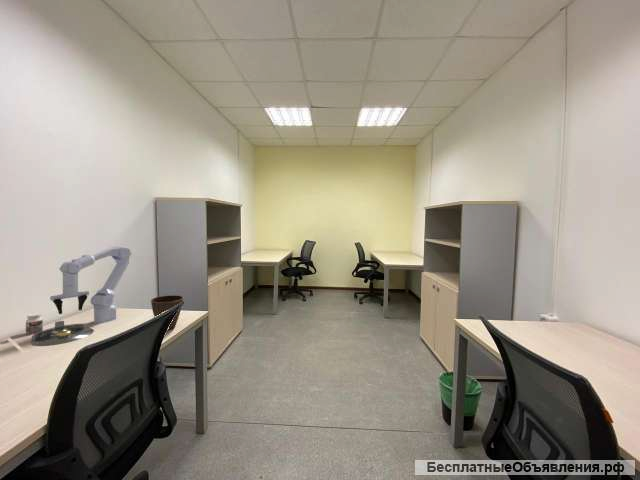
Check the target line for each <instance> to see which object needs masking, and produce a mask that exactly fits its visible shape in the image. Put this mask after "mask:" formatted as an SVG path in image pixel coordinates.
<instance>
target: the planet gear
mask: <svg viewBox="0 0 640 480" xmlns="http://www.w3.org/2000/svg"><path fill="white" fill-rule="evenodd" d="M64 325H65V321H64V320H59V321H55V322H54V327H55V330H53V331H52V335H57V332H60V331H64V330H67V328H64Z"/></svg>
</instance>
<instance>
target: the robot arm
mask: <svg viewBox="0 0 640 480" xmlns="http://www.w3.org/2000/svg"><path fill="white" fill-rule="evenodd" d="M131 256H132V252H131V249H130V248H129V247H128V246H117V245H116V246H114V245H113V246H111V247H108V248H106V249H104V250H101V251H99V252H96V253H95V254H91V255H90V254H82V255H81V256H79V257H78V258H72V259H71V260H70V261H64V262H63V263H62V264H61V265H60V267H59V271H60V272H61V274H62V294H57V295H51V296H49V299H50V300H49V301H52V302H53V304H54V305H55V307H56V309H57V313H58V315H62V314H63V300H64V299H72V298H77V299H78V300H77V301H78V304H77V305H78V311H82V310H83V307H84V304H85V302H86V300H87V298H88V296H90V291H88V290H87V291H86V290H85V291H79V273H80V271H81V270H82V269H86V268H88V267H90V266H92V265H94V264H95V263H96V261H99V260H102V259H105V258H107V257H112V259H113V260H114V262H116V264H115V266H114V268H113V269H112V271H111V273H110V274H109V276H108V277H107V279H106V281H105V283H104V285H103V286H102V288H101V289H99V290H97V291H96V293H95V294H93V296H91V298H90V304H91V305H93V324H94V323H95V324H103V323H107V322H110V321H114V320H117V308H116V306H115V304H113V303H114V299H115V296H116V295H115V292H114V291H115V289H116V287H117V286H118V284H119V282H120V281H121V279H122V276H123V275H124V273H125V271H126V269H127V267H128V266H129V264H130V257H131Z"/></svg>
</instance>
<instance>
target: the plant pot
mask: <svg viewBox="0 0 640 480" xmlns="http://www.w3.org/2000/svg"><path fill="white" fill-rule="evenodd" d="M183 300H184V297H183V296H181V295H178V294H177V295H176V294H175V295H173V294H172V295H163V296H157V297H153V298H152V299H150V303H151V309H152V314H153V317H154V318H155V316H157V315H159V314H161V313H162V312H164V311H166V310H168V309H170V308H172V307H174V306H175V305H177V304H179V303H180V302H182V303H183ZM181 310H182V307H181V308H180V309H179V311H178V312H177V314H176V315H175V317H174V319H173V321H172V322H171V324H170V326H169V329H168V330H167V331H169V330H173V329H175V328H176V325H177V323H178V321H179V316H180V315H181Z"/></svg>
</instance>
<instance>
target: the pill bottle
mask: <svg viewBox="0 0 640 480" xmlns="http://www.w3.org/2000/svg"><path fill="white" fill-rule="evenodd" d="M26 318H27V319H26V321H25V335H26V336H27V335H28V336H29V335H34V334H36V333H38V332H40V331H43V330H44V329H43V326H44V325H43V323H44V322H43V317H42V313H41V312H37V313H30V314H27V316H26Z"/></svg>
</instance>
